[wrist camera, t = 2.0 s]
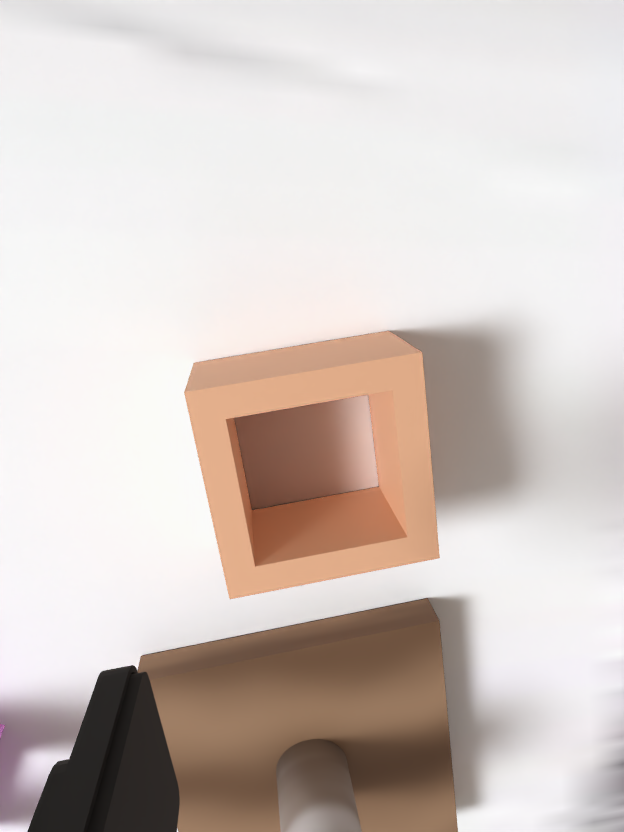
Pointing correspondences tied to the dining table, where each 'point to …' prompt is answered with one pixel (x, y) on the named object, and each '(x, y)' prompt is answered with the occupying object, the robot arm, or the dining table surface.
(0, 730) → the bracket
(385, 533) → the collar
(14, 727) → the dining table surface
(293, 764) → the post stand
